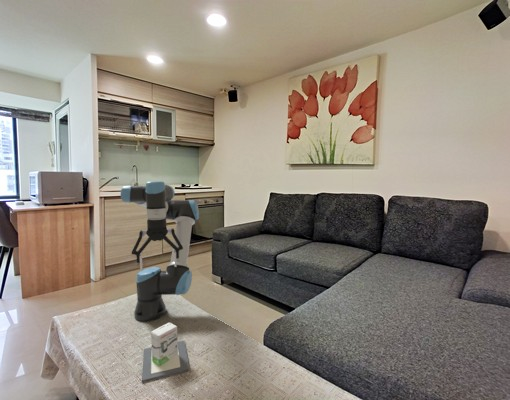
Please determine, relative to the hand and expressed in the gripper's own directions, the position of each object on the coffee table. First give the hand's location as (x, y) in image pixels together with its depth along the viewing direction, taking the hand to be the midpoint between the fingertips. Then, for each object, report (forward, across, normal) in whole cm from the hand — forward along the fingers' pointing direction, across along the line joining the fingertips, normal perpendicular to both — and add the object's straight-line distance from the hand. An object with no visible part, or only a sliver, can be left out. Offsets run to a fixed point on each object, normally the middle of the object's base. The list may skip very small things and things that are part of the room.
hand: (158, 268), depth 115 cm
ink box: (+31, +1, -15) cm, 34 cm away
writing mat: (+32, +1, -15) cm, 35 cm away
